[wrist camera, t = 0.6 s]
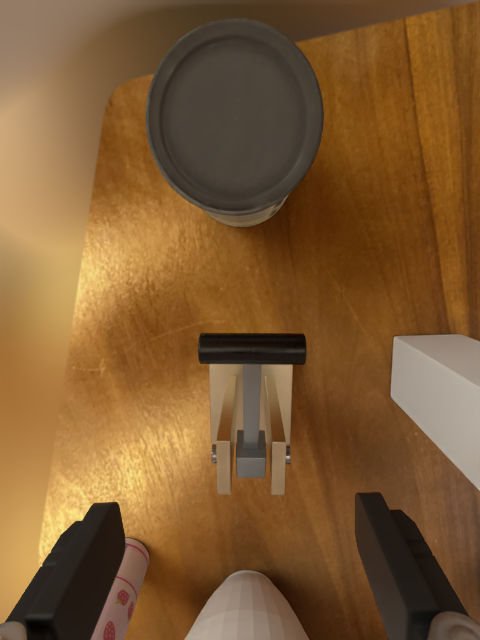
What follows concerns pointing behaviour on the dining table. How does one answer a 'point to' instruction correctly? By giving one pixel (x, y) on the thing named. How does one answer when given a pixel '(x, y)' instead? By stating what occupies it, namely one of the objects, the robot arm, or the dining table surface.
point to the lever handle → (252, 382)
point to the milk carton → (442, 393)
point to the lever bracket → (230, 419)
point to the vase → (247, 612)
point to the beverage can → (123, 593)
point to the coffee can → (234, 119)
